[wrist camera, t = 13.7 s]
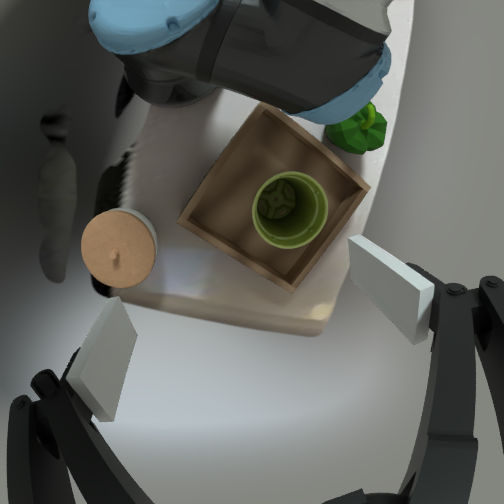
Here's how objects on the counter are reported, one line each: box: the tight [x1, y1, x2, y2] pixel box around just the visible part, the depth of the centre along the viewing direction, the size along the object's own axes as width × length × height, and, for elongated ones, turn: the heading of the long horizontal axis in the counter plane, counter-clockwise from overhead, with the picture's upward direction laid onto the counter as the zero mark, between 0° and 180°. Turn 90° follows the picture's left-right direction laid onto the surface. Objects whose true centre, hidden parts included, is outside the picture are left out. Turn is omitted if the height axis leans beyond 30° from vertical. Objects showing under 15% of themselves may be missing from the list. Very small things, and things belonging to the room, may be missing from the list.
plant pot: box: [252, 171, 328, 249], centre depth 38 cm, size 9×9×9 cm
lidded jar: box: [81, 208, 158, 288], centre depth 38 cm, size 11×11×9 cm
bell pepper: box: [326, 101, 387, 155], centre depth 37 cm, size 8×8×10 cm
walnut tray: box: [177, 102, 371, 293], centre depth 41 cm, size 20×20×5 cm
